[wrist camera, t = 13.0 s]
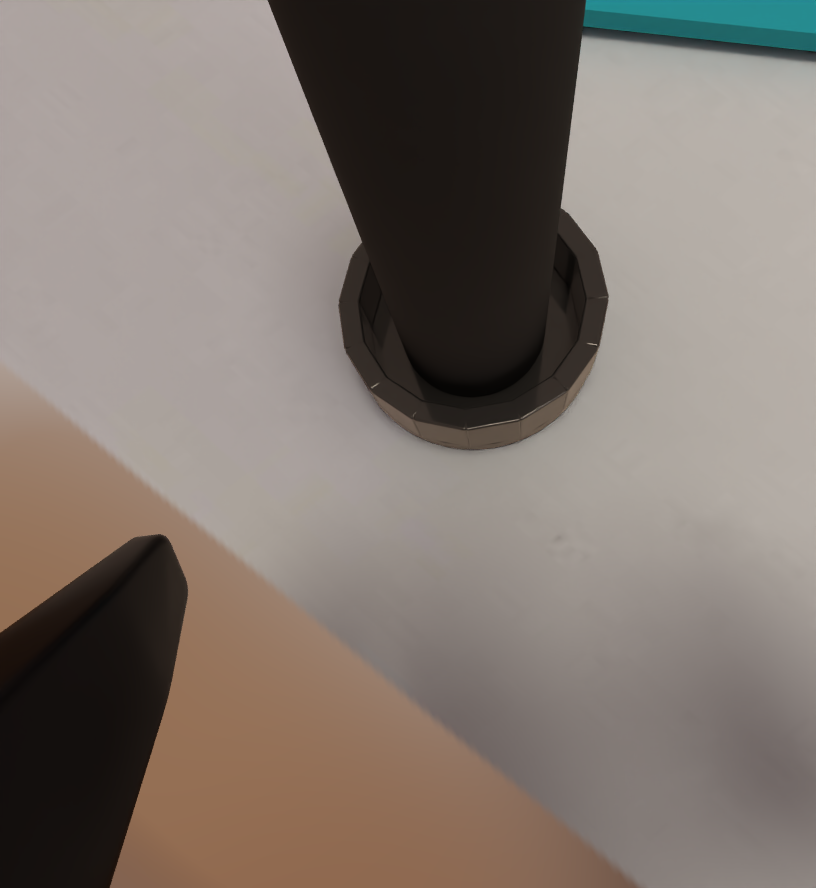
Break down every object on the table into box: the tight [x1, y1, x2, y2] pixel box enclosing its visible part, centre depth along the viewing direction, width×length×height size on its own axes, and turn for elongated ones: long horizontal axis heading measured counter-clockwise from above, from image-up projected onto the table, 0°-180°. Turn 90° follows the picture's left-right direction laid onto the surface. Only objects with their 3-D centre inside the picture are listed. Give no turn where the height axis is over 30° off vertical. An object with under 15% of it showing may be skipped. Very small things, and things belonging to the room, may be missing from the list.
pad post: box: [268, 0, 586, 397], centre depth 11 cm, size 4×4×20 cm
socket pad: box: [338, 208, 609, 450], centre depth 20 cm, size 7×7×2 cm
